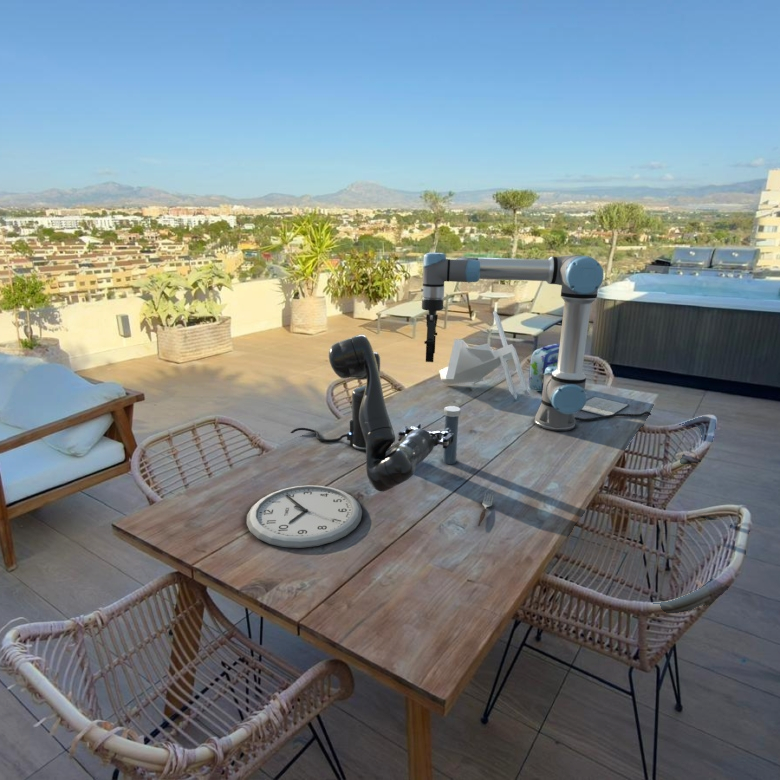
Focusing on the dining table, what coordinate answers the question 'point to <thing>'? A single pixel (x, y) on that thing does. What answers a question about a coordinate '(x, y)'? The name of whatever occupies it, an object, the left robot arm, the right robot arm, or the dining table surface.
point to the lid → (452, 411)
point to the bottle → (450, 452)
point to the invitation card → (603, 406)
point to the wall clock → (304, 516)
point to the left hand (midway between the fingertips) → (433, 429)
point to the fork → (485, 504)
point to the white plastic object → (482, 362)
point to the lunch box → (542, 365)
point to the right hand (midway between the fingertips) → (430, 357)
